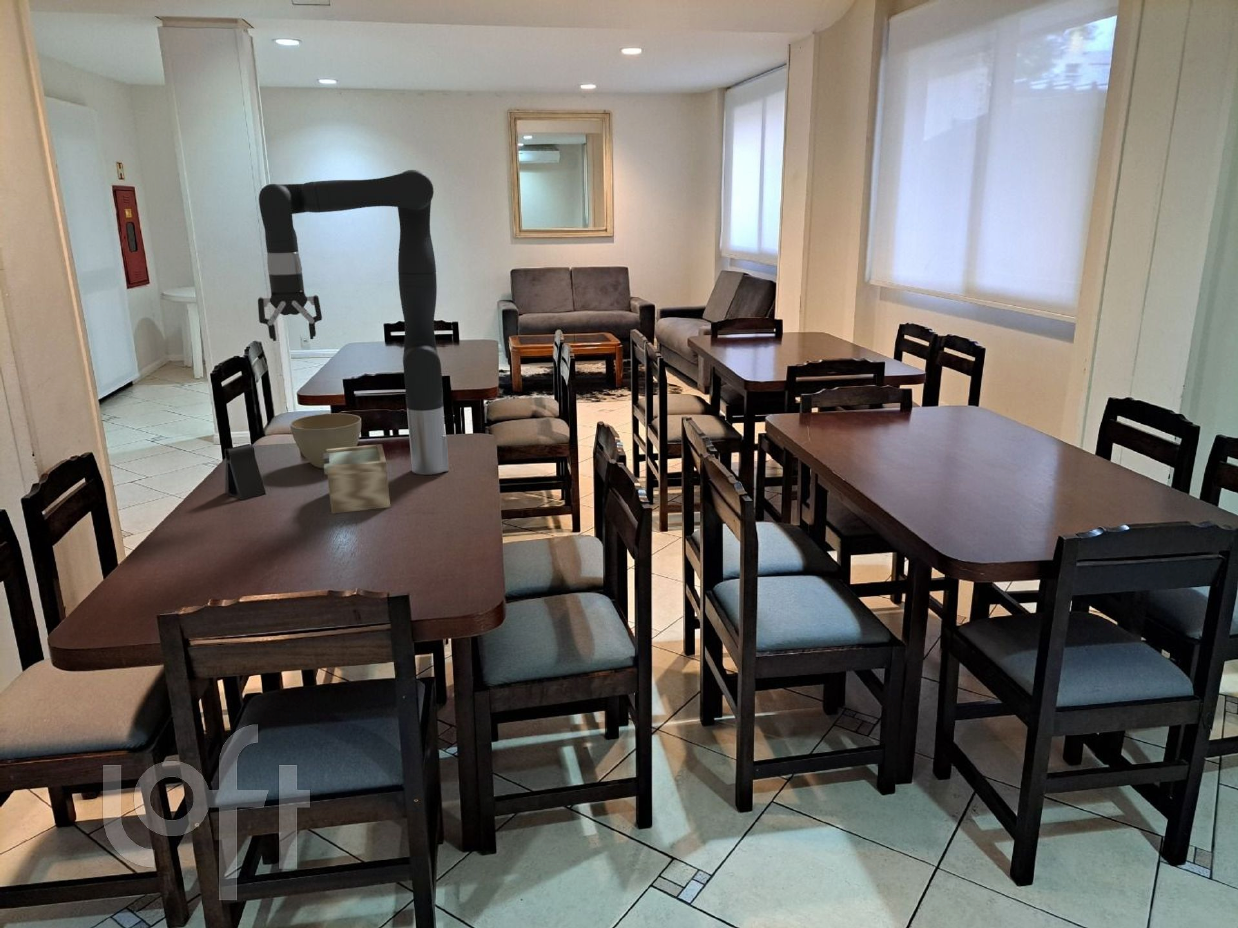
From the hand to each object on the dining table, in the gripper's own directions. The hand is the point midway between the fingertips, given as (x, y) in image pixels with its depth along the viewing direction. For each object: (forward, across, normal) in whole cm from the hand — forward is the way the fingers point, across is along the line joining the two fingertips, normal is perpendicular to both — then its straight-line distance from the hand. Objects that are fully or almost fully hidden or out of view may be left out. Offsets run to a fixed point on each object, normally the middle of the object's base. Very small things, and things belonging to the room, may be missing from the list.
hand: (293, 339), depth 208 cm
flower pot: (+36, +5, +13) cm, 39 cm away
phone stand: (+36, -15, -6) cm, 40 cm away
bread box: (+36, +12, -20) cm, 43 cm away
